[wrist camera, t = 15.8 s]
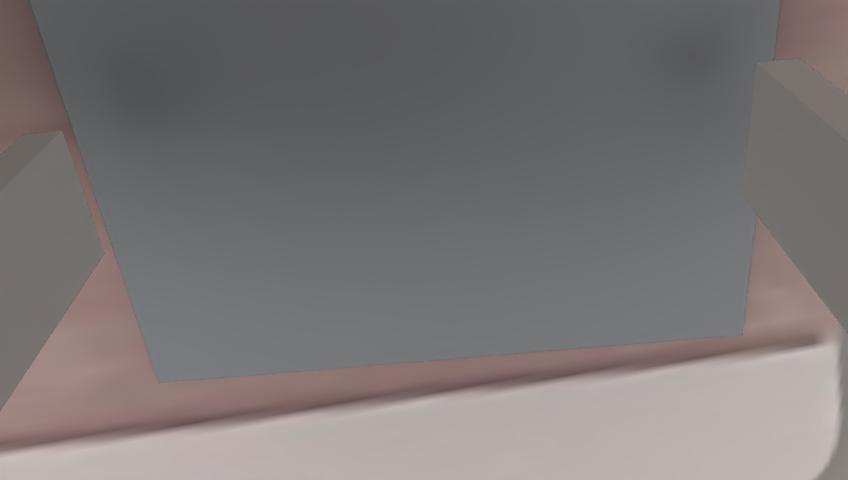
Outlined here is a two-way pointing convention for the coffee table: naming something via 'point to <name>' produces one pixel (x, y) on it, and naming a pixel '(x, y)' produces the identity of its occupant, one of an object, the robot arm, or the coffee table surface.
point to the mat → (415, 173)
